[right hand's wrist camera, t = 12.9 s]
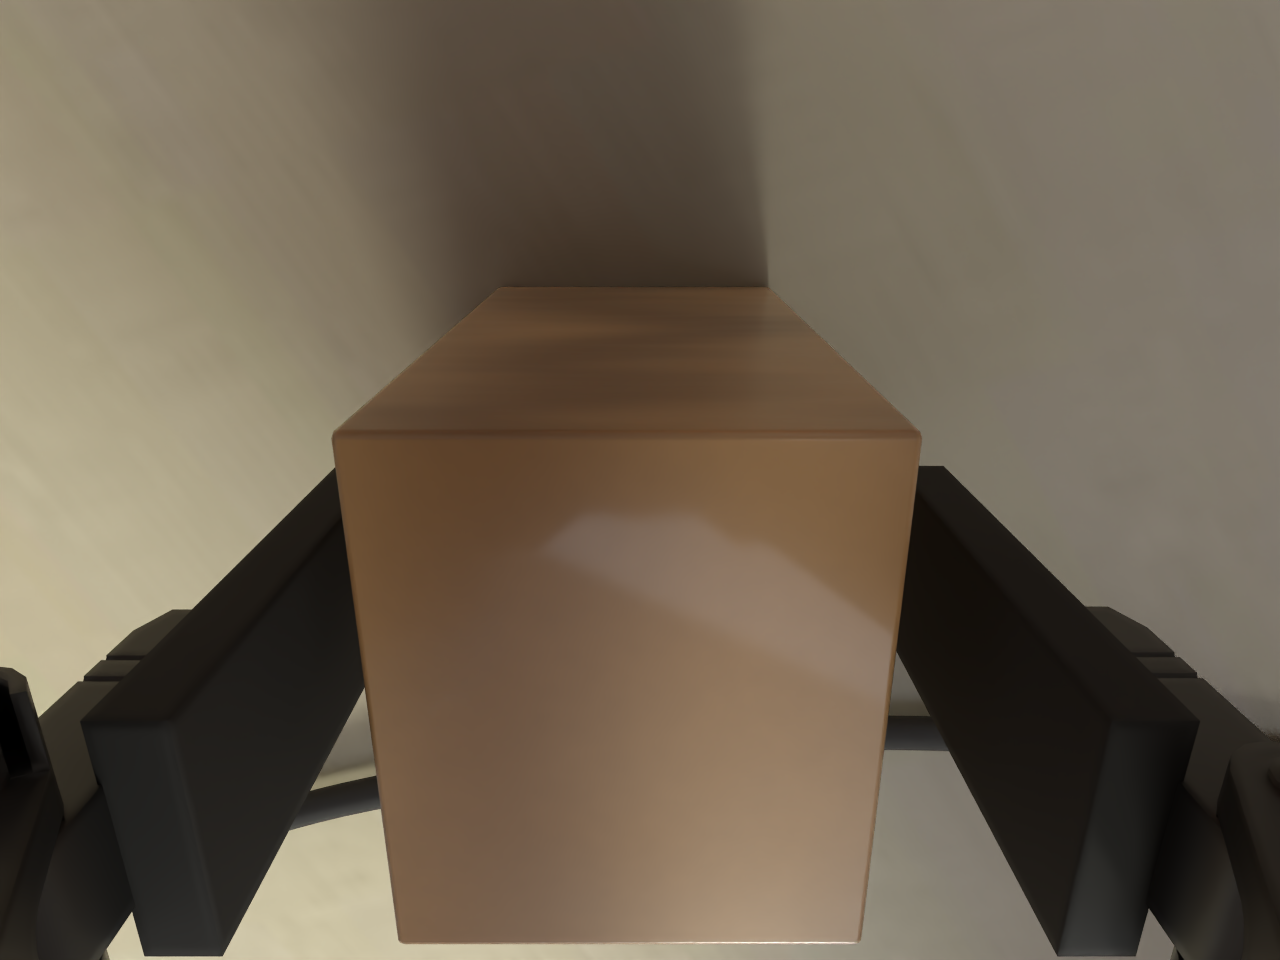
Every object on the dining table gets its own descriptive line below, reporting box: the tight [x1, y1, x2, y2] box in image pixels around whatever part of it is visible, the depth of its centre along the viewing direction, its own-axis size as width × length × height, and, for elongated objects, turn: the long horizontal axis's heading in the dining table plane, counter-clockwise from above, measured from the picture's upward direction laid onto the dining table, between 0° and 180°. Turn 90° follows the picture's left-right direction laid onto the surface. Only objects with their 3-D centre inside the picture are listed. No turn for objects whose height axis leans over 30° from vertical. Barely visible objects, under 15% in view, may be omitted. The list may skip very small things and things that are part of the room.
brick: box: [332, 287, 922, 944], centre depth 14 cm, size 6×7×10 cm
